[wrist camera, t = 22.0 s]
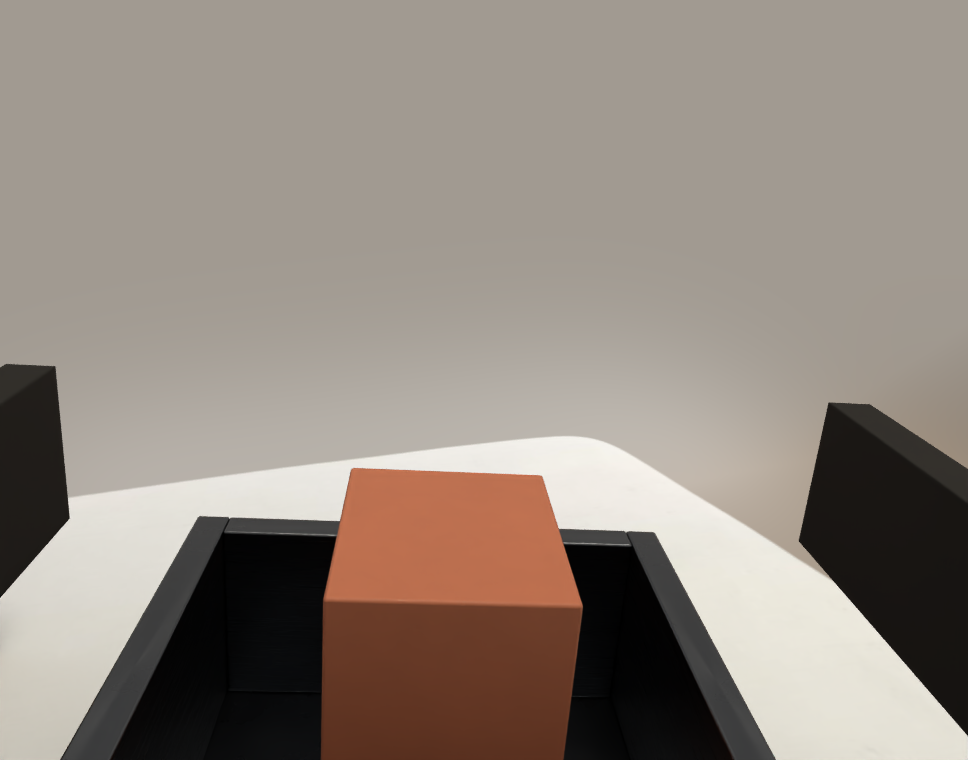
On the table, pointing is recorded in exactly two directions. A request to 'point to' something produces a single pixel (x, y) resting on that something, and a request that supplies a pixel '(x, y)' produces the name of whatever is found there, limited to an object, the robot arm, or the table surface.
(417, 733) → the block
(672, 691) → the dark grey storage bin
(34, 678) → the table surface
